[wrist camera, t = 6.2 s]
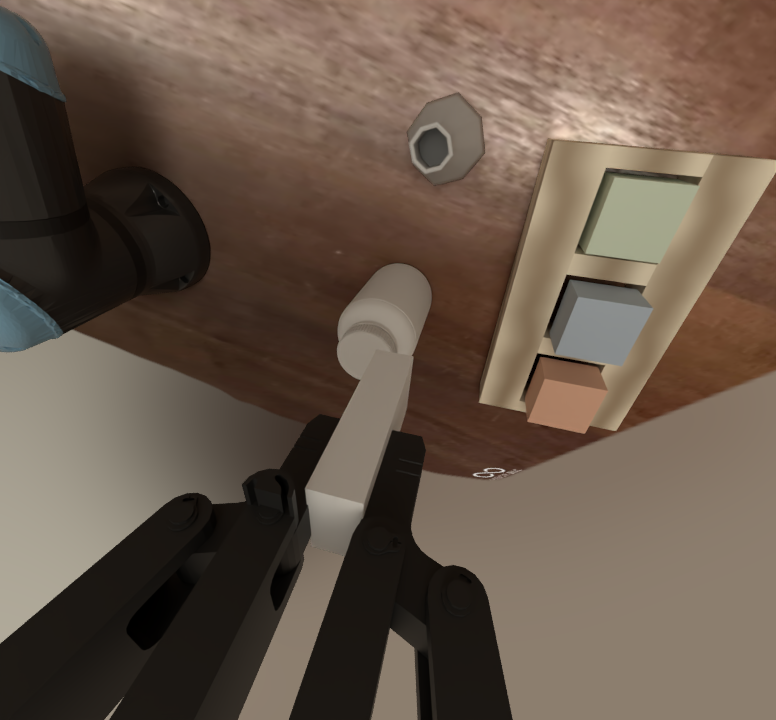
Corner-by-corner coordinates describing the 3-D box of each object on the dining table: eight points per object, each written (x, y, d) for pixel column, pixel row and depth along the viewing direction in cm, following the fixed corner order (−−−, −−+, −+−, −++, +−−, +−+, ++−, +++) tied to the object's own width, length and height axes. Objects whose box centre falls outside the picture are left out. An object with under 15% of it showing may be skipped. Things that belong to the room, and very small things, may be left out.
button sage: (576, 240, 35) (585, 253, 31) (601, 171, 31) (614, 177, 28) (642, 249, 34) (659, 263, 30) (676, 178, 30) (699, 186, 27)
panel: (480, 383, 48) (479, 402, 44) (547, 138, 32) (554, 140, 28) (607, 408, 45) (615, 431, 42) (750, 156, 29) (782, 161, 26)
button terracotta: (524, 397, 43) (527, 421, 39) (540, 356, 39) (544, 378, 36) (577, 408, 42) (584, 433, 38) (598, 367, 38) (608, 391, 35)
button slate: (549, 333, 38) (554, 354, 34) (569, 279, 34) (578, 296, 31) (609, 343, 37) (621, 366, 33) (637, 289, 33) (653, 308, 30)
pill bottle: (417, 250, 40) (384, 306, 28) (442, 311, 43) (423, 385, 31) (357, 274, 43) (305, 333, 31) (385, 329, 47) (348, 402, 35)
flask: (498, 156, 33) (499, 167, 25) (431, 198, 37) (413, 220, 29) (463, 74, 31) (452, 58, 23) (394, 128, 34) (364, 131, 26)
